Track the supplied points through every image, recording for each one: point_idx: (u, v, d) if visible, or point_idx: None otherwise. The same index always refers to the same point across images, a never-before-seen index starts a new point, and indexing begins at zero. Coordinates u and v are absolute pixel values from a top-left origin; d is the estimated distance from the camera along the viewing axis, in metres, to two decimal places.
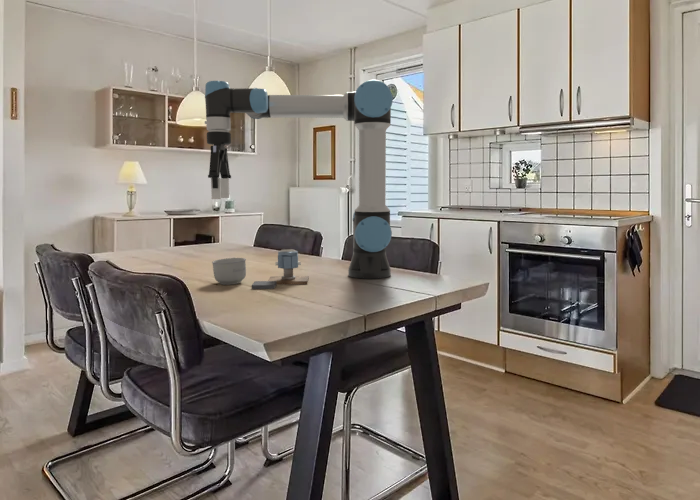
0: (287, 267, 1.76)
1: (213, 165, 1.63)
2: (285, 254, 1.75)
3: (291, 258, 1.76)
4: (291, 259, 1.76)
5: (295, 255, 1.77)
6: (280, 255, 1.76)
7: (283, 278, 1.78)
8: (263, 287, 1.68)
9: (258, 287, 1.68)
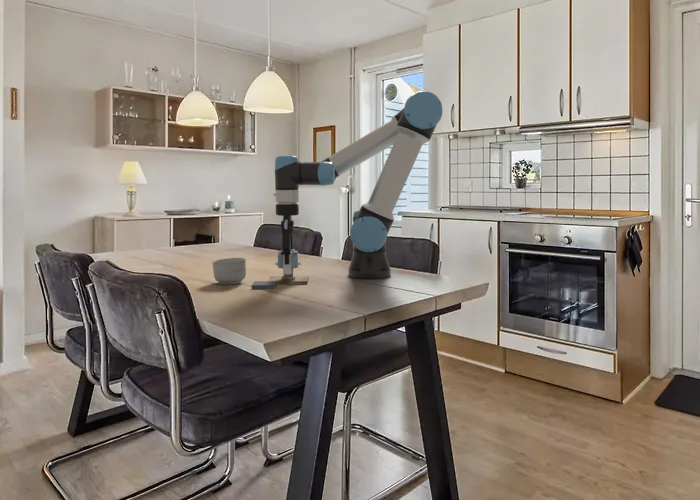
0: None
1: (285, 243, 1.71)
2: None
3: (291, 258, 1.76)
4: (291, 259, 1.76)
5: (295, 255, 1.77)
6: (280, 255, 1.76)
7: (283, 278, 1.78)
8: (263, 287, 1.68)
9: (258, 287, 1.68)
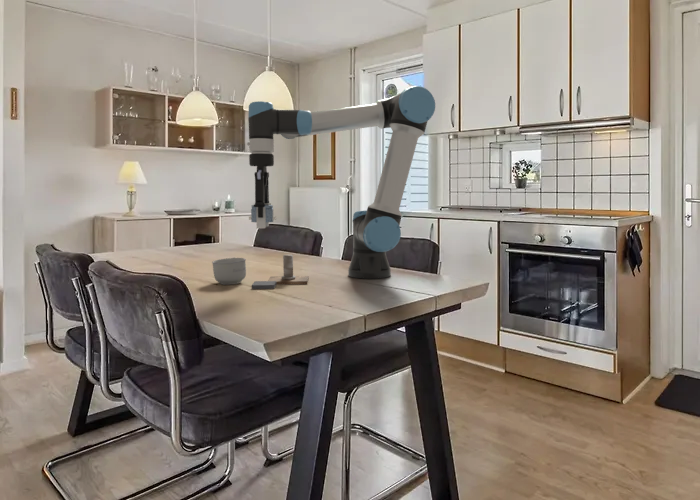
0: None
1: (259, 194, 1.61)
2: None
3: (265, 211, 1.65)
4: (265, 212, 1.65)
5: (269, 208, 1.66)
6: (253, 208, 1.66)
7: (283, 278, 1.78)
8: (263, 287, 1.68)
9: (258, 287, 1.68)
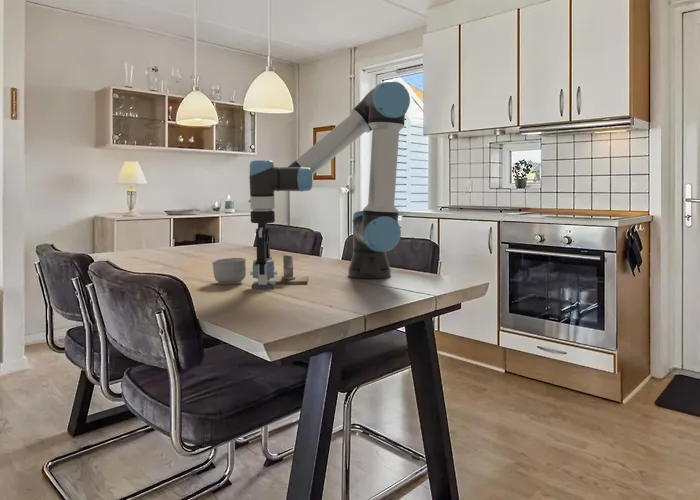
0: None
1: (260, 253, 1.63)
2: None
3: None
4: None
5: (271, 264, 1.68)
6: (255, 264, 1.68)
7: (283, 278, 1.78)
8: (263, 287, 1.68)
9: (258, 287, 1.68)
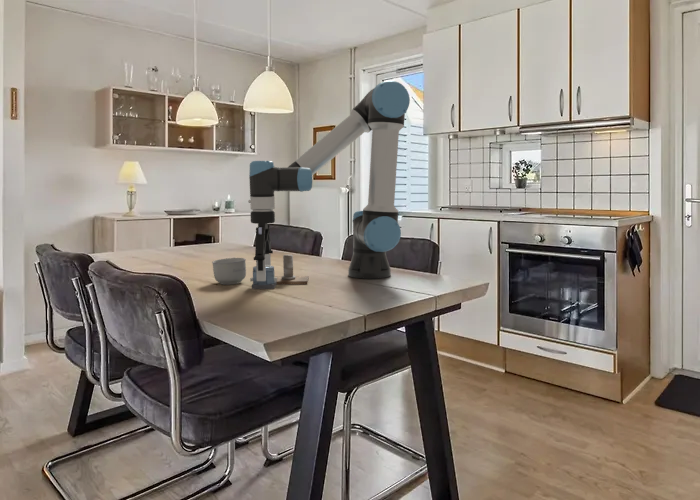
0: (262, 283, 1.68)
1: (259, 248, 1.61)
2: None
3: (266, 274, 1.67)
4: (266, 275, 1.67)
5: (271, 271, 1.68)
6: (255, 271, 1.68)
7: (283, 278, 1.78)
8: (263, 287, 1.68)
9: (258, 287, 1.68)
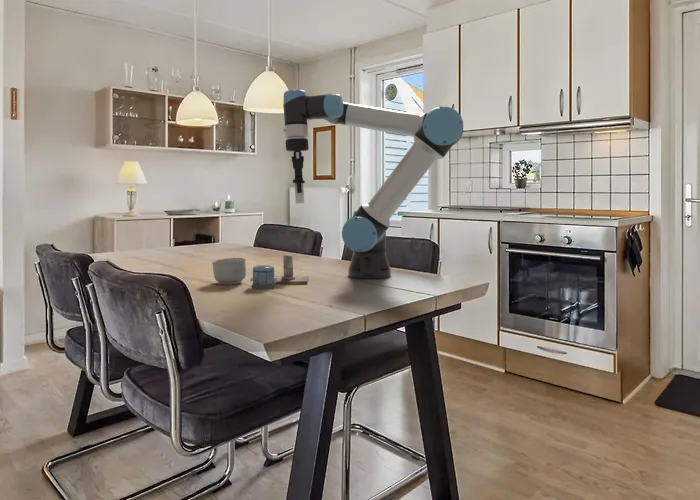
0: (262, 283, 1.68)
1: (298, 171, 1.70)
2: (260, 270, 1.67)
3: (266, 274, 1.67)
4: (266, 275, 1.67)
5: (271, 271, 1.68)
6: (255, 271, 1.68)
7: (283, 278, 1.78)
8: (263, 287, 1.68)
9: (258, 287, 1.68)
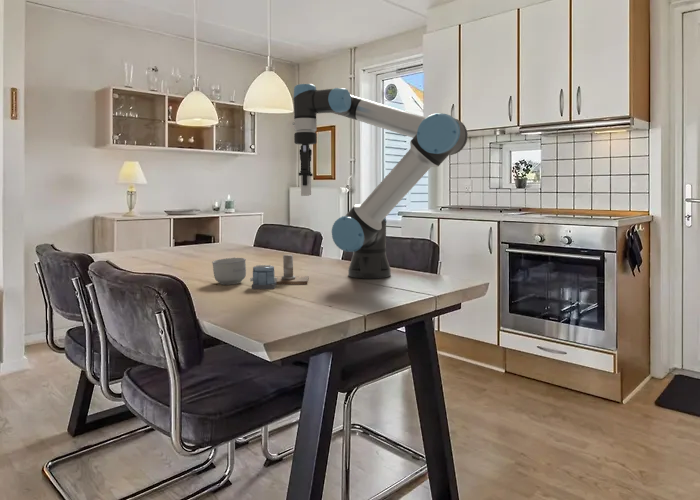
0: (262, 283, 1.68)
1: (304, 163, 1.73)
2: (260, 270, 1.67)
3: (266, 274, 1.67)
4: (266, 275, 1.67)
5: (271, 271, 1.68)
6: (255, 271, 1.68)
7: (283, 278, 1.78)
8: (263, 287, 1.68)
9: (258, 287, 1.68)
